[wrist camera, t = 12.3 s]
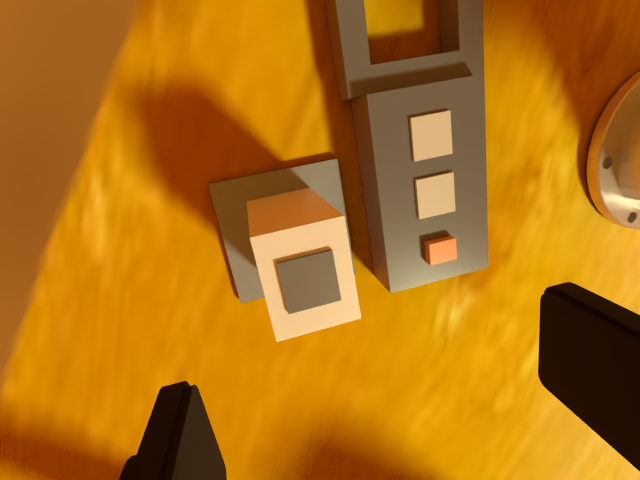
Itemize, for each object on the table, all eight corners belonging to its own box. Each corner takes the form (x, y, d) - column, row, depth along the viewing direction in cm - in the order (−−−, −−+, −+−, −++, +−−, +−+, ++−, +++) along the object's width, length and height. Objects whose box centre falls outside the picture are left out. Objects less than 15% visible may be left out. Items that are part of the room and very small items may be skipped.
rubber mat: (335, 158, 23) (337, 158, 22) (353, 271, 25) (355, 274, 25) (208, 183, 22) (207, 184, 21) (240, 300, 24) (240, 303, 24)
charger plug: (309, 187, 22) (345, 216, 15) (323, 260, 24) (362, 320, 16) (246, 201, 22) (249, 239, 14) (264, 274, 24) (277, 344, 16)
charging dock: (457, -102, 20) (501, -149, 17) (470, 250, 27) (503, 267, 24) (312, -88, 19) (327, -136, 15) (365, 277, 26) (384, 300, 22)
